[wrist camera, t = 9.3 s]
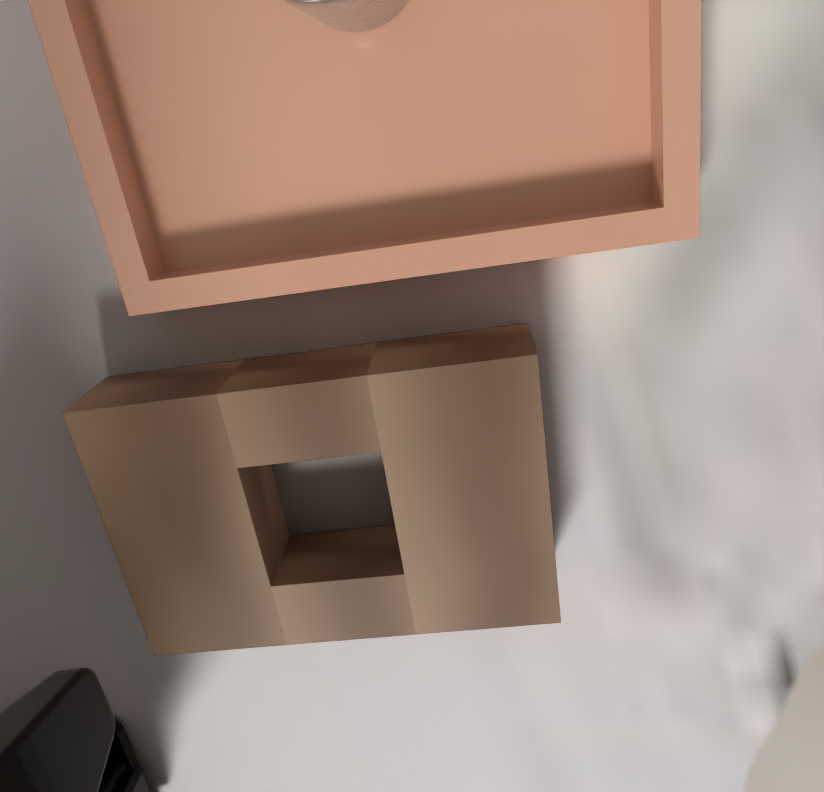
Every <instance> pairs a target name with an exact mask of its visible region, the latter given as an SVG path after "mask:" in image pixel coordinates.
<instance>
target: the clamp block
mask: <svg viewBox="0 0 824 792" xmlns="http://www.w3.org/2000/svg"><path fill="white" fill-rule="evenodd" d="M62 415H63V417H64V420H65V423H66V425H67V428H68V431H69V433H70V436H71V438H72V441H73V444H74V446H75V449H76V452H77V454H78V457H79V459H80V462H81V465H82V467H83V470H84V473H85V475H86V478H87V481H88V483H89V486H90V488H91V491H92V494H93V496H94V499H95V502H96V504H97V507H98V510H99V512H100V515H101V517H102V520H103V523H104V525H105V528H106V531H107V533H108V536H109V538H110V541H111V544H112V546H113V549H114V552H115V554H116V557H117V560H118V562H119V565H120V567H121V570H122V573H123V575H124V578H125V581H126V583H127V586H128V588H129V591H130V594H131V596H132V599H133V602H134V604H135V607H136V610H137V612H138V615H139V617H140V620H141V623H142V625H143V628H144V631H145V633H146V636H147V639H148V641H149V644H150V646H151V649H152V652H153V654H154V656H155V655H168V654H180V653H192V652H205V651H217V650H229V649H242V648H254V647H266V646H279V645H291V644H303V643H316V642H328V641H340V640H353V639H365V638H377V637H390V636H402V635H414V634H427V633H439V632H451V631H464V630H476V629H488V628H500V627H513V626H525V625H537V624H550V623H561V617H560V606H559V594H558V583H557V571H556V560H555V549H554V537H553V526H552V514H551V503H550V492H549V480H548V469H547V457H546V446H545V435H544V423H543V412H542V400H541V389H540V378H539V366H538V355H537V352H536V349H535V346H534V342H533V339H532V336H531V333H530V330H529V327H528V324H527V323H524V324H516V325H508V326H501V327H493V328H485V329H477V330H469V331H462V332H454V333H446V334H438V335H431V336H423V337H415V338H407V339H399V340H392V341H384V342H376V343H368V344H360V345H353V346H345V347H337V348H329V349H322V350H314V351H306V352H298V353H290V354H283V355H275V356H267V357H259V358H251V359H244V360H236V361H228V362H220V363H213V364H205V365H197V366H189V367H181V368H174V369H166V370H158V371H150V372H142V373H135V374H127V375H119V376H111V377H106V378H105V379H104V380H103V381H101V382H100V383H99V384H98V385H96V386H95V387H94V388H93V389H91V390H90V391H89V392H88V393H86V394H85V395H84V396H83V397H81V398H80V399H79V400H78V401H77V402H75V403H74V404H73V405H72V406H70V407H69V408H68V409H67V410H65V411H64V412H63V413H62ZM379 452H381V454H382V459H383V464H384V469H385V475H386V480H387V485H388V490H389V496H390V501H391V506H392V512H393V517H394V522H395V525H388V526H377V527H367V528H357V529H347V530H337V531H327V532H317V533H307V534H297V535H290V533H289V529H288V526H287V522H286V518H285V514H284V510H283V506H282V503H281V499H280V495H279V491H278V487H277V483H276V480H275V476H274V472H273V468H272V464H279V463H288V462H297V461H307V460H316V459H325V458H334V457H343V456H352V455H361V454H370V453H379Z"/></svg>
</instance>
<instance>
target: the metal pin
mask: <svg viewBox="0 0 824 792" xmlns="http://www.w3.org/2000/svg"><path fill="white" fill-rule="evenodd" d="M282 1H284V2H286V3H288V4H290V5H291V6H293V7H295V8H297V9H298V10H300V11H302V12H304V13H306V14H307V15H309V16H311V17H313V18H315V19H316V20H318V21H320V22H322V23H323V24H325V25H327V26H329V27H331V28H334V29H337V30H340V31H345V32H366V31H370V30H374V29H376V28H378V27H381V26H383V25H385V24H386V23H388V22H389V21H391V20H392V19H393V18H394V17H396V16H397V15H398V14H399V13H400V12H401V11H402V10H403V8H404V7H405V6H406V4H407V3H408V2H409V0H282Z"/></svg>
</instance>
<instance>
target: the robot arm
mask: <svg viewBox="0 0 824 792" xmlns="http://www.w3.org/2000/svg"><path fill="white" fill-rule="evenodd" d="M0 792H150V789H149V787H148V785H147V782H146V780H145V778H144V775H143V773H142V770H141V768H140V766H139V763H138V761H137V759H136V756H135V754H134V752H133V749H132V747H131V744H130V742H129V740H128V737H127V735H126V733H125V730H124V728H123V727H122V725H121V724H120V723H118V722H117V721H115V719H114V715H113V712H112V709H111V707H110V705H109V703H108V701H107V698H106V696H105V694H104V692H103V689H102V687H101V685H100V683H99V681H98V678H97V676H96V674H95V673H94V672H93V671H92V670H90V669H88V668H77V669H68V670H61V671H57V672H55V673H53V674H52V675H50V676H49V677H48V678H46V679H45V680H44V681H42V682H41V683H40V684H38V685H37V686H35V687H34V688H33V689H31V690H30V691H29V692H27V693H26V694H25V695H23V696H22V697H21V698H19V699H18V700H17V701H15V702H14V703H12V704H11V705H10V706H8V707H7V708H6V709H4V710H3V711H2V712H0Z"/></svg>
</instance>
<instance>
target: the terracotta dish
mask: <svg viewBox="0 0 824 792" xmlns="http://www.w3.org/2000/svg"><path fill="white" fill-rule="evenodd" d="M28 3H29V6H30V9H31V12H32V15H33V19H34V22H35V25H36V28H37V31H38V34H39V37H40V40H41V43H42V47H43V50H44V53H45V56H46V59H47V62H48V65H49V68H50V72H51V75H52V78H53V81H54V84H55V87H56V90H57V93H58V97H59V100H60V103H61V106H62V109H63V112H64V115H65V118H66V122H67V125H68V128H69V131H70V134H71V137H72V140H73V143H74V147H75V150H76V153H77V156H78V159H79V162H80V165H81V168H82V172H83V175H84V178H85V181H86V184H87V187H88V190H89V193H90V196H91V200H92V203H93V206H94V209H95V212H96V215H97V218H98V221H99V225H100V228H101V231H102V234H103V237H104V240H105V243H106V246H107V250H108V253H109V256H110V259H111V262H112V265H113V268H114V271H115V275H116V278H117V281H118V284H119V287H120V290H121V293H122V296H123V300H124V303H125V306H126V309H127V312H128V315H129V316H135V315H143V314H150V313H157V312H164V311H172V310H179V309H186V308H193V307H201V306H208V305H215V304H222V303H229V302H237V301H244V300H251V299H258V298H266V297H273V296H280V295H287V294H295V293H302V292H309V291H316V290H324V289H331V288H338V287H345V286H353V285H360V284H367V283H374V282H382V281H389V280H396V279H403V278H411V277H418V276H425V275H432V274H439V273H447V272H454V271H461V270H468V269H476V268H483V267H490V266H497V265H505V264H512V263H519V262H526V261H534V260H541V259H548V258H555V257H563V256H570V255H577V254H584V253H592V252H599V251H606V250H613V249H621V248H628V247H635V246H642V245H649V244H657V243H664V242H671V241H678V240H686V239H693V238H700V140H701V0H409V2H408V3H407V4H406V6H405V7H404V8H403V10H402V11H401V12H400V13H399V14H398V15H397V16H396V17H394V18H393V19H392V20H391V21H389V22H388V23H386V24H385V25H383V26H381V27H378V28H376V29H374V30H370V31H366V32H345V31H340V30H337V29H334V28H331V27H329V26H327V25H325V24H323V23H322V22H320V21H318V20H316V19H315V18H313V17H311V16H309V15H307V14H306V13H304V12H302V11H300V10H298V9H297V8H295V7H293V6H291V5H290V4H288V3H286V2H284V1H282V0H28Z"/></svg>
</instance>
